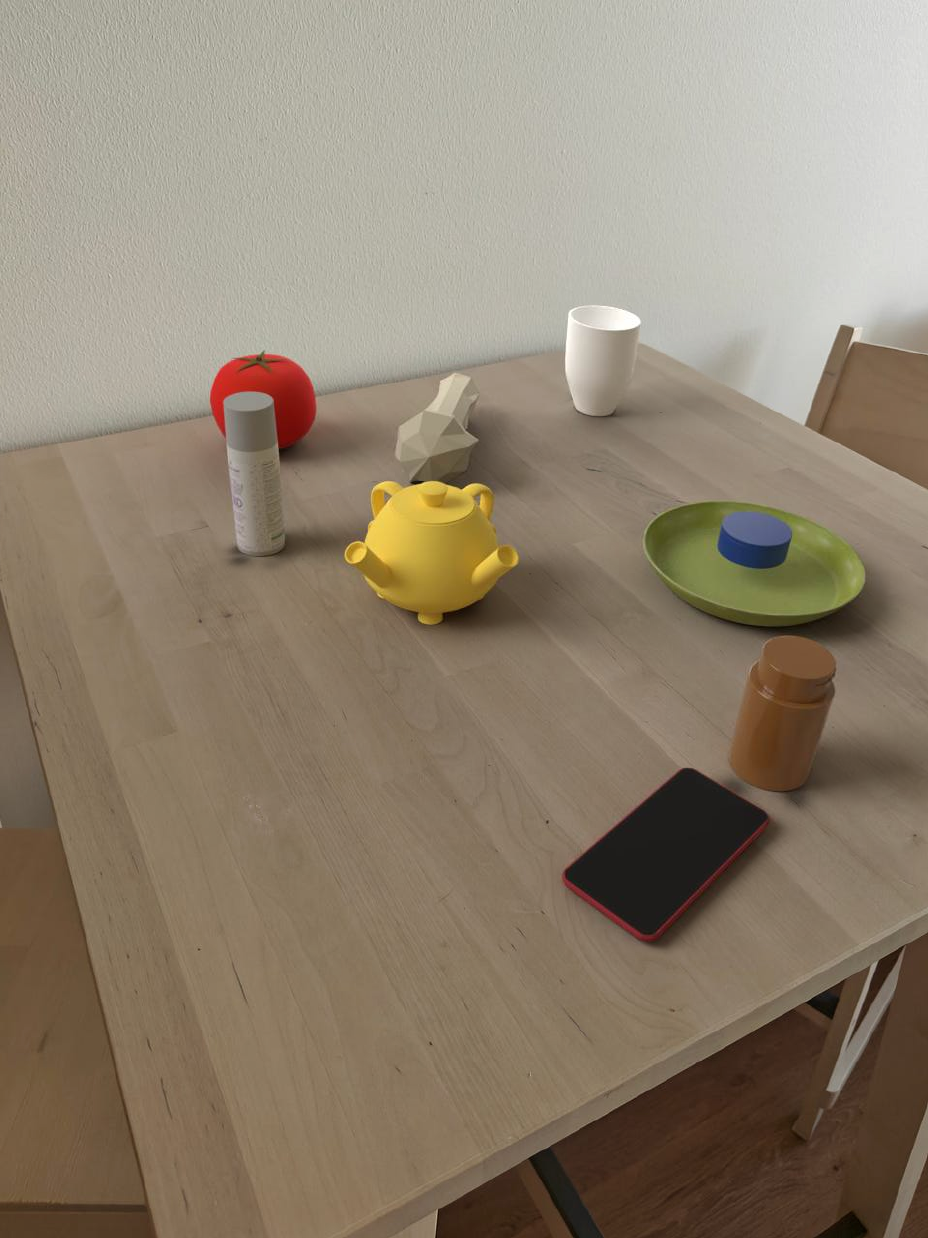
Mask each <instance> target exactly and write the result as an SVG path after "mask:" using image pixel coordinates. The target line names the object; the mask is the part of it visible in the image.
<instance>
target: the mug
mask: <svg viewBox="0 0 928 1238" xmlns="http://www.w3.org/2000/svg"><path fill="white" fill-rule="evenodd" d="M567 315H568V318H567V329H566V331H567V332H566V342H565V343H566V344H565V356H564V357H565V359H564V360H565V361H564V364H565V365H564V370H565V376H566V377H565V378H566V380H567V384H568V389H569V391H570V394H571V397H572V401H573V404H574V407H575V409H576V410H577V411H578V412H580V413H581V414H584V415H587V416H592V417H606V416H610V415H612V414H613V413H614V412H615V410H616V408H617V407H618V405H619V403H620V402H621V400H622V398H623V397H624V395H625V393H626V391H627V390H628V388H629V387H630V385H631V382H632V380H633V378H634V377H633V376H634V372H635V367H636V360H637V353H638V346H639V339H640V338H639V337H640V330H641V318H639V317H638V316H637V315H636V314H634V313H633V312H630V311H628V310H625V309H621V308H618V307H614V306H607V305H582V306H577V307H575V308H573V309H571V310H569V312H568V314H567Z"/></svg>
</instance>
